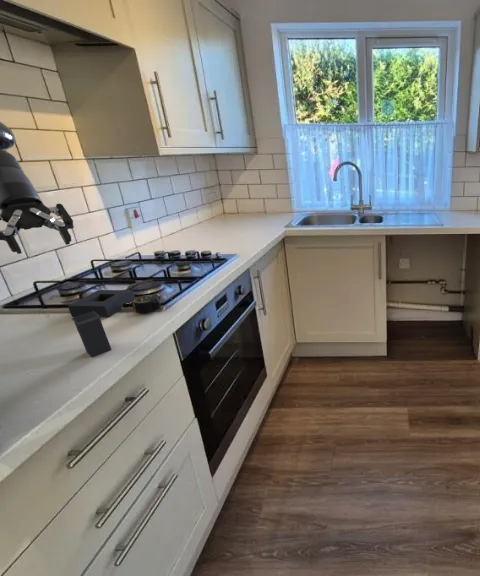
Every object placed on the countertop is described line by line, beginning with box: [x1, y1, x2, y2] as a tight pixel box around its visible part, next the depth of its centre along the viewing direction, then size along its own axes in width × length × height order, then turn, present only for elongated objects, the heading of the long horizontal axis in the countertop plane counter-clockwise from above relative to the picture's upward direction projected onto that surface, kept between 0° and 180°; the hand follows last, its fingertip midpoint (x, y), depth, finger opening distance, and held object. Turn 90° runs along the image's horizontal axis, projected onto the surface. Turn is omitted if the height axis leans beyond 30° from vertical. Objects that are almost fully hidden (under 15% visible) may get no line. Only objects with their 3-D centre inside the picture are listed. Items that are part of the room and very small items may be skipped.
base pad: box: [67, 289, 136, 318], centre depth 106 cm, size 11×11×4 cm
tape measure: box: [131, 293, 162, 314], centre depth 104 cm, size 7×7×4 cm
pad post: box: [71, 311, 113, 358], centre depth 83 cm, size 4×4×9 cm
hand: (44, 247), depth 82 cm, fingers open, 8 cm apart
